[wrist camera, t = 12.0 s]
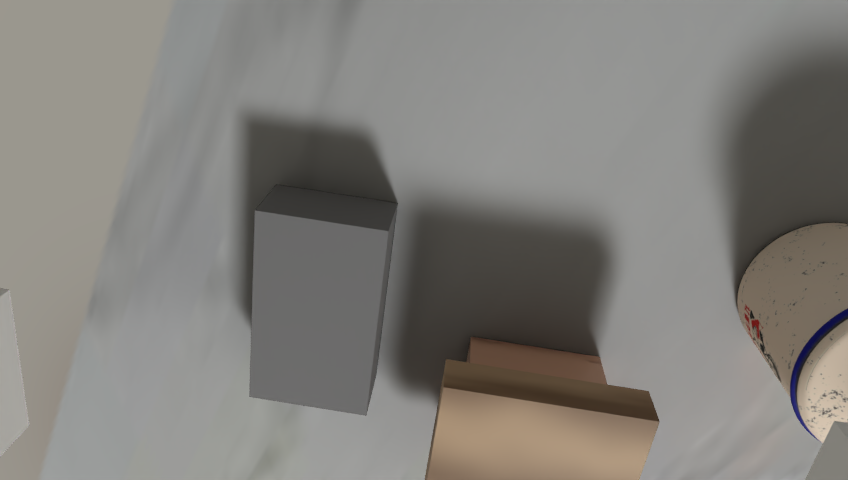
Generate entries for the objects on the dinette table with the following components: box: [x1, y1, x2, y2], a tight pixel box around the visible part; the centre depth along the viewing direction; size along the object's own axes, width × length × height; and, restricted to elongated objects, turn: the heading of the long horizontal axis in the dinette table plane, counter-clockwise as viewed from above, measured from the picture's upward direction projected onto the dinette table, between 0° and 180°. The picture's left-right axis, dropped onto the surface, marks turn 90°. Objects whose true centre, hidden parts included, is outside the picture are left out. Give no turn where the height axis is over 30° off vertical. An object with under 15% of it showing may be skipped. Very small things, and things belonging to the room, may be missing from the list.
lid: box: [425, 359, 659, 480], centre depth 37 cm, size 11×11×2 cm
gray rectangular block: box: [249, 185, 398, 415], centre depth 39 cm, size 12×7×4 cm, turn 172°
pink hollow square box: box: [466, 337, 607, 385], centre depth 41 cm, size 8×8×5 cm
